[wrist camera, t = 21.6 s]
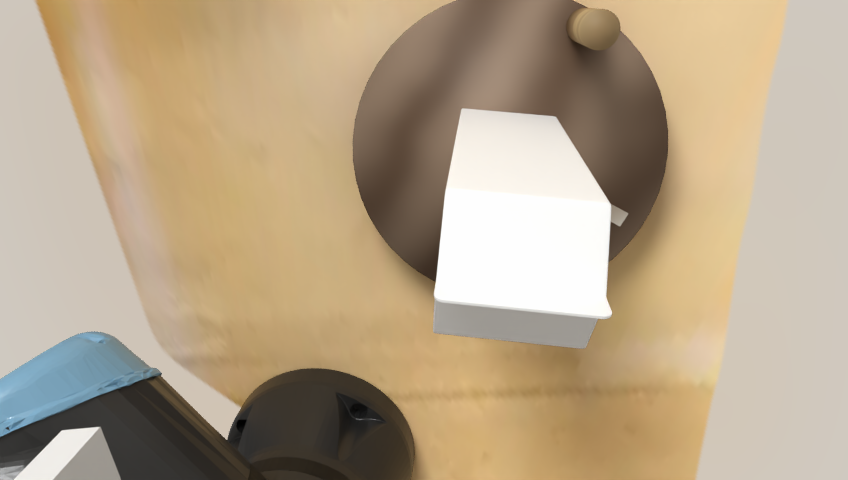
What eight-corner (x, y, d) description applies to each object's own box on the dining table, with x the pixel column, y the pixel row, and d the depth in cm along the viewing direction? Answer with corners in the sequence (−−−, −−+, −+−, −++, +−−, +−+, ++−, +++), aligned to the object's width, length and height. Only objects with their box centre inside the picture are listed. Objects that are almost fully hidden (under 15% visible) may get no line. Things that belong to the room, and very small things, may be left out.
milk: (461, 107, 41) (437, 209, 21) (557, 115, 41) (632, 228, 20) (452, 200, 43) (423, 377, 23) (544, 208, 43) (599, 396, 22)
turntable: (313, 202, 47) (278, 245, 39) (445, -71, 40) (435, -89, 32) (555, 327, 49) (569, 393, 41) (720, 85, 42) (777, 106, 34)
